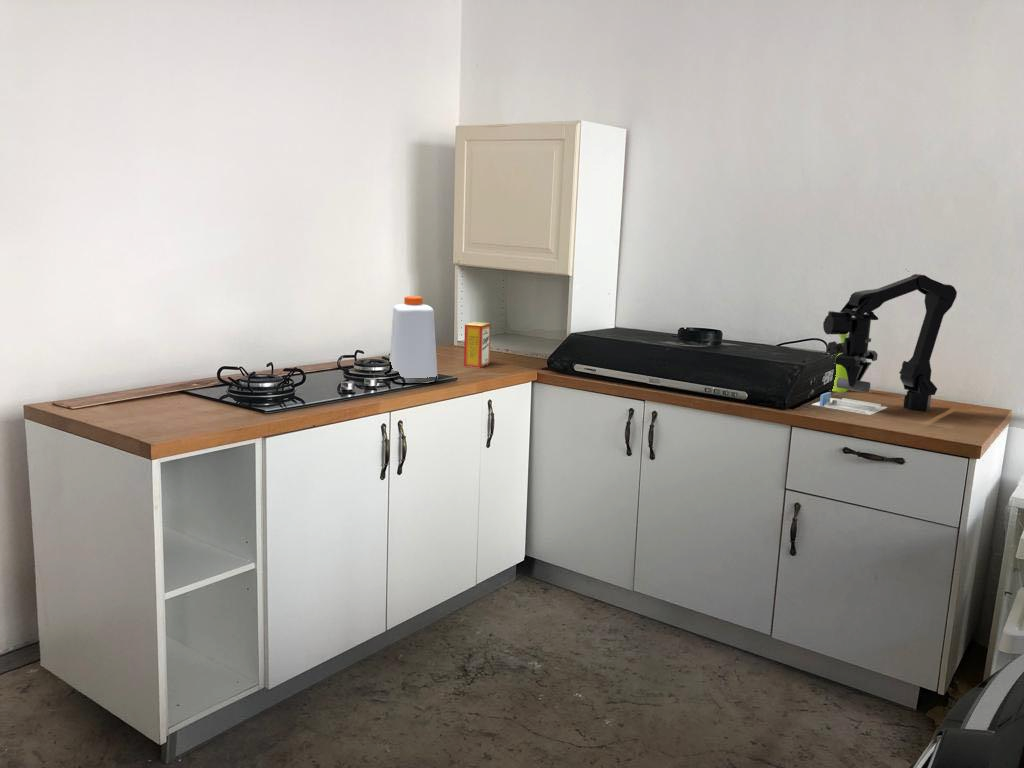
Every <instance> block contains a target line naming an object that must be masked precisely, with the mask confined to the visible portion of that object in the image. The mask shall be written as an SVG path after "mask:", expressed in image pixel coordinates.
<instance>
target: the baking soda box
mask: <svg viewBox="0 0 1024 768" xmlns="http://www.w3.org/2000/svg"><path fill="white" fill-rule="evenodd" d="M491 325H492V323H491V322H479V321H473V322H469V323H465V324H464V345H463V346H464V347H463V348H464V351H463V353H464V354H463V367H464V366H472V367H483V366H485V365H487V366H489V365H490V363H491V361H490V360H491V359H490V357H491V328H492V327H491ZM488 364H489V365H488ZM485 367H486V366H485ZM483 368H484V367H483Z"/></svg>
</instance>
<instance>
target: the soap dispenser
mask: <svg viewBox="0 0 1024 768" xmlns="http://www.w3.org/2000/svg"><path fill="white" fill-rule="evenodd" d="M848 336H849V333H847V334H838V337H840V339H839V340H840V341H839V343H843V342H845V338H846V337H848ZM840 354H843V353H839V354H838V355H840ZM838 355H837V356H838ZM835 376H836V377H835V380H834V386H833V389H832V391H831V392H836V393H837V392H838V393H847V392H848V389H844V388H838V387H837V380H838V378H844V379H848V377H847V372H846V369H845V368H844V367H843V366H841V365H838V364H836V375H835Z"/></svg>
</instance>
